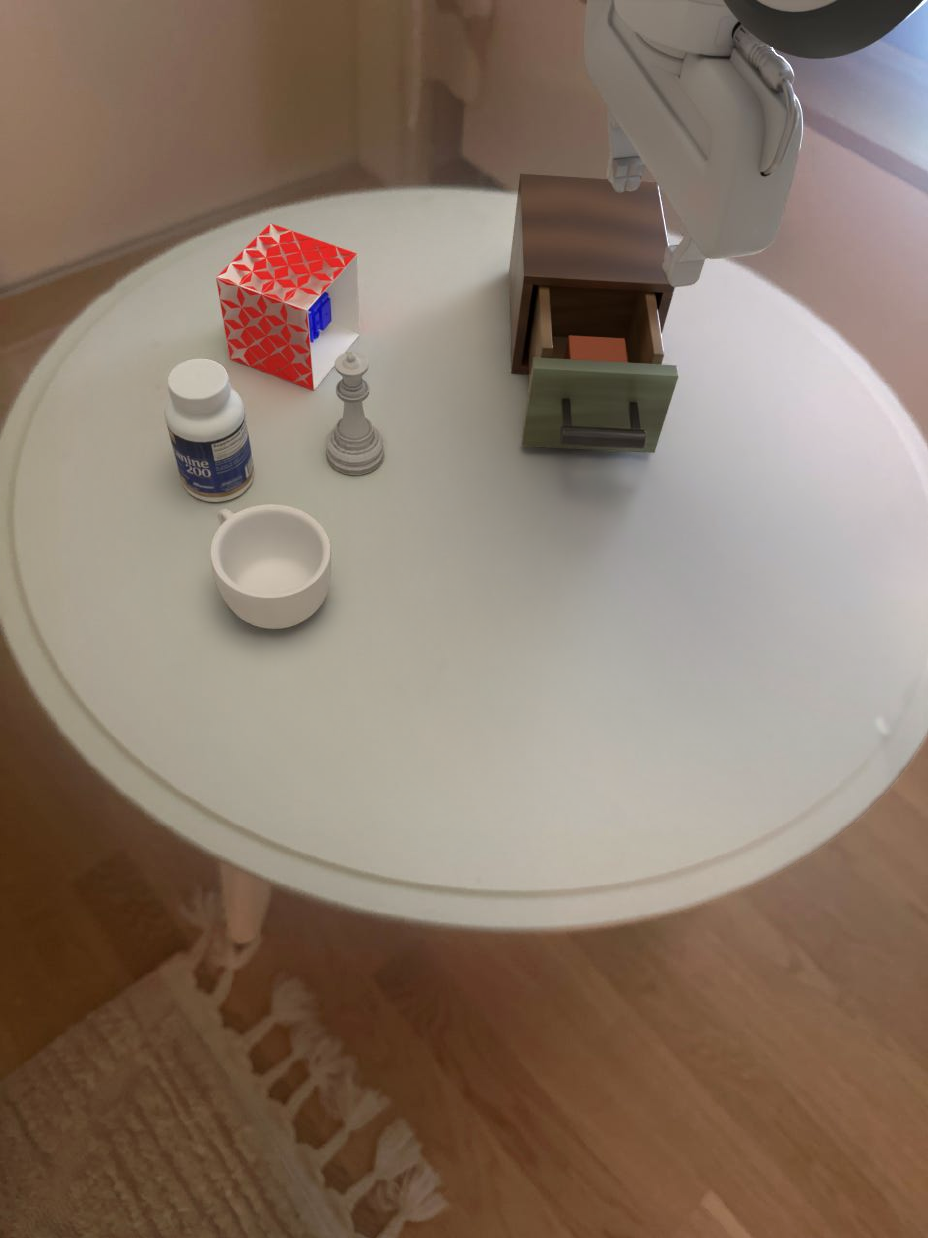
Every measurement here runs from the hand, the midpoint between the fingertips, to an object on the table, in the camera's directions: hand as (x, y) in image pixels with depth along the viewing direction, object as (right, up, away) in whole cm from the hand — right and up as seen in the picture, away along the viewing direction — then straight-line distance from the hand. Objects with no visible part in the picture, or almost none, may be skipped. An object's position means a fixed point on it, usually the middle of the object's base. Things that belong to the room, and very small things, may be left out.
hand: (649, 230), depth 59 cm
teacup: (-25, -21, +9) cm, 34 cm away
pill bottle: (-30, -13, +15) cm, 35 cm away
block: (-1, -6, +19) cm, 20 cm away
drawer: (-1, -7, +20) cm, 21 cm away
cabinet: (-1, +2, +27) cm, 27 cm away
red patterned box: (-25, -1, +23) cm, 34 cm away
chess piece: (-20, -11, +17) cm, 28 cm away
